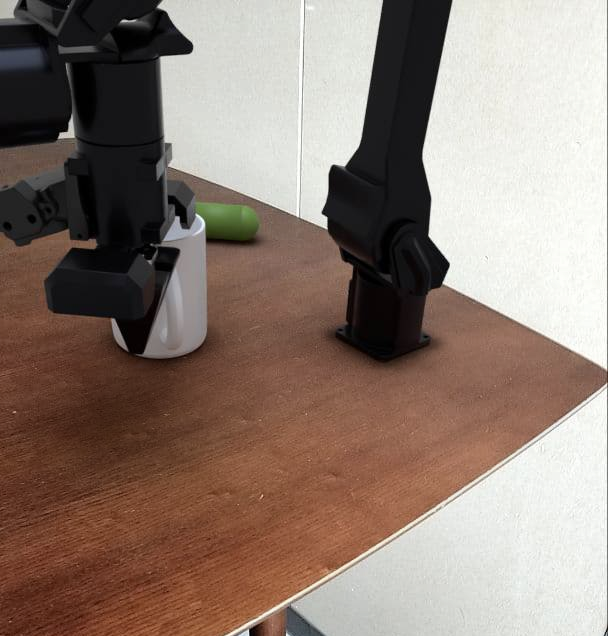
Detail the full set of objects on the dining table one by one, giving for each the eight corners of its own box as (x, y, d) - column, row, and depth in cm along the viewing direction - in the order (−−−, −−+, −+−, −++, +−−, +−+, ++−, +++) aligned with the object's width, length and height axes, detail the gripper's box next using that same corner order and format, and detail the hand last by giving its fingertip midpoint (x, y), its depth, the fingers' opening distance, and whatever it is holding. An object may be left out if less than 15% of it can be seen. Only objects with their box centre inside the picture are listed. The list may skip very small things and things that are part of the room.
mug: (227, 377, 72) (226, 257, 66) (127, 387, 70) (116, 264, 63) (196, 313, 81) (193, 202, 74) (107, 321, 79) (95, 207, 72)
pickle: (260, 234, 97) (261, 202, 95) (257, 247, 94) (257, 213, 92) (175, 228, 97) (174, 195, 95) (169, 240, 94) (167, 206, 92)
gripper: (42, 89, 63) (69, 291, 73) (-63, 169, 49) (-12, 406, 59) (193, 101, 63) (199, 303, 73) (132, 185, 49) (149, 421, 59)
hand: (137, 352), depth 66 cm, fingers closed
